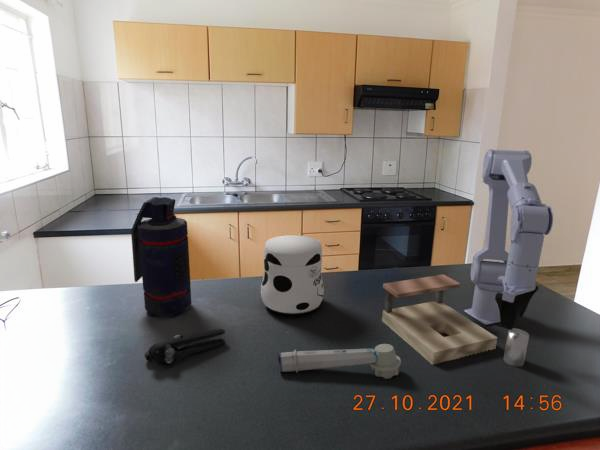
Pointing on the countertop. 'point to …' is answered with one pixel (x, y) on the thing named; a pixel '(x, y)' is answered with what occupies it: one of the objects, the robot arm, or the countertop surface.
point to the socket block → (434, 321)
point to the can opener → (169, 353)
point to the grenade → (162, 258)
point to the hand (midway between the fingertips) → (512, 321)
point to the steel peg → (516, 347)
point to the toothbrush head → (343, 360)
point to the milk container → (292, 274)
